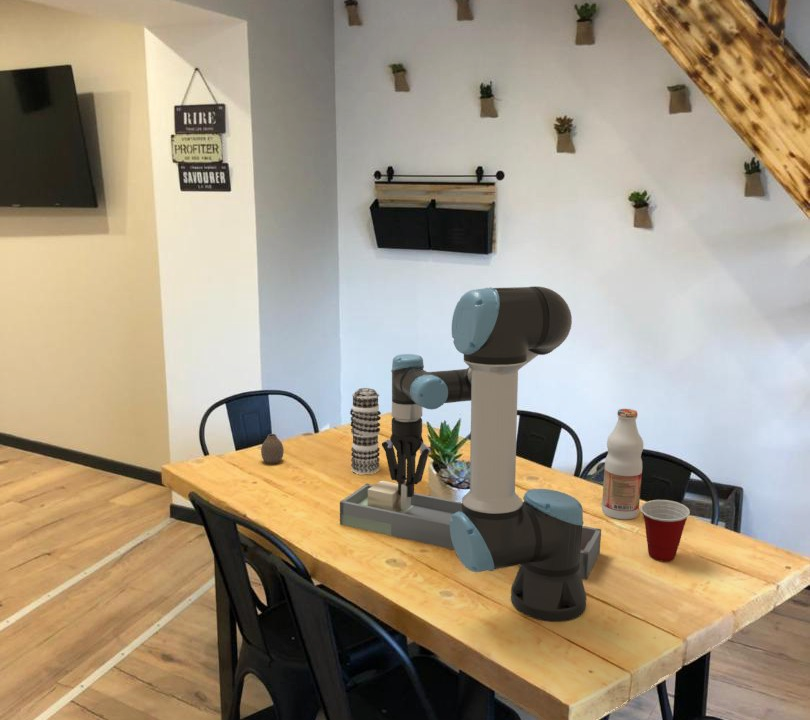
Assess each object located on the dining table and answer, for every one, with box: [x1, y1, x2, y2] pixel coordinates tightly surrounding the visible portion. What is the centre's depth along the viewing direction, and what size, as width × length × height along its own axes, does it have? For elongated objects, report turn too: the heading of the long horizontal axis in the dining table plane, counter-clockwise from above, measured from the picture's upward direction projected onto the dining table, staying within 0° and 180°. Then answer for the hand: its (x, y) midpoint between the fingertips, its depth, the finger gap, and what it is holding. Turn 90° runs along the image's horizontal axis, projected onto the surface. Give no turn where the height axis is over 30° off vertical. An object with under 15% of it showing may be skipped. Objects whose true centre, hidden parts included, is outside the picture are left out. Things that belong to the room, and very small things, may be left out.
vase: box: [260, 433, 285, 465], centre depth 232 cm, size 7×7×9 cm
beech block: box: [368, 480, 402, 512], centre depth 190 cm, size 7×7×6 cm
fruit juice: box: [601, 408, 644, 520], centre depth 195 cm, size 9×9×28 cm
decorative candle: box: [349, 387, 382, 475], centre depth 225 cm, size 9×9×25 cm
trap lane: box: [339, 483, 602, 580], centre depth 182 cm, size 14×62×6 cm, turn 64°
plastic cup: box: [639, 499, 691, 562], centre depth 173 cm, size 11×11×12 cm
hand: (405, 507), depth 188 cm, fingers closed
